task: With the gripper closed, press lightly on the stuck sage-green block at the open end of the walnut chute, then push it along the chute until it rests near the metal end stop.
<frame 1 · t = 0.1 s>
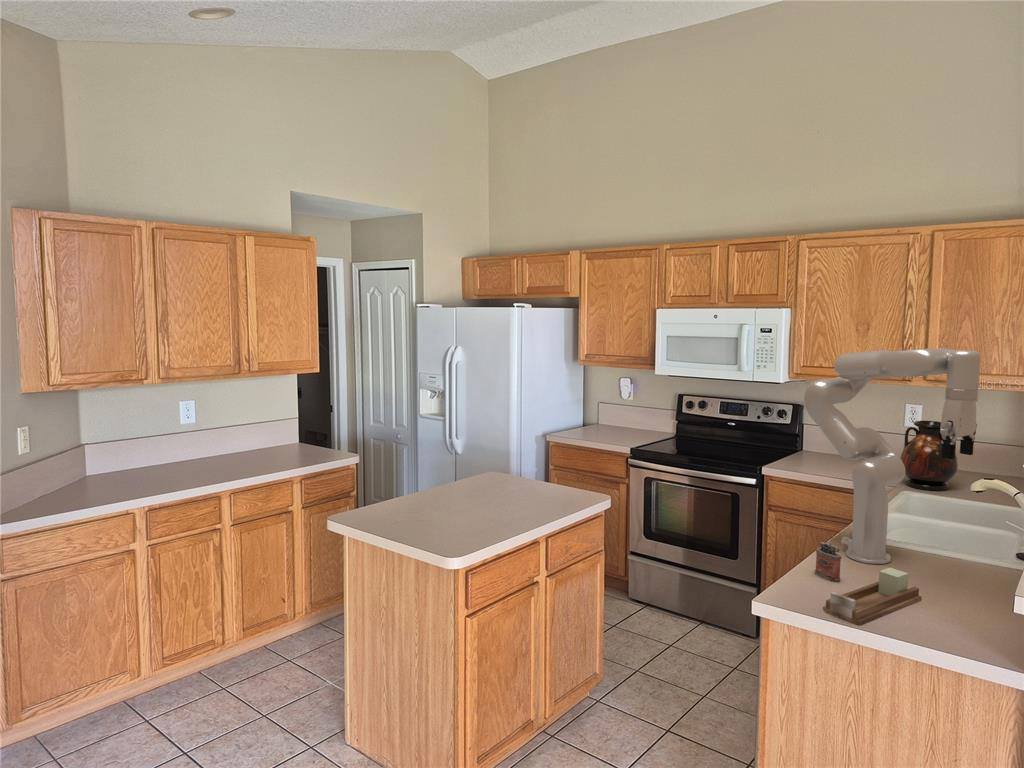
hand: (957, 456, 193), 37 cm above the counter, tool pointing down, fingers open, 9 cm apart
lighter: (827, 577, 202), on the counter
amphora vase: (926, 487, 301), on the counter
chute: (872, 605, 183), on the counter
jammed block: (893, 582, 187), point 4 cm above the counter, slide at 0.0 cm
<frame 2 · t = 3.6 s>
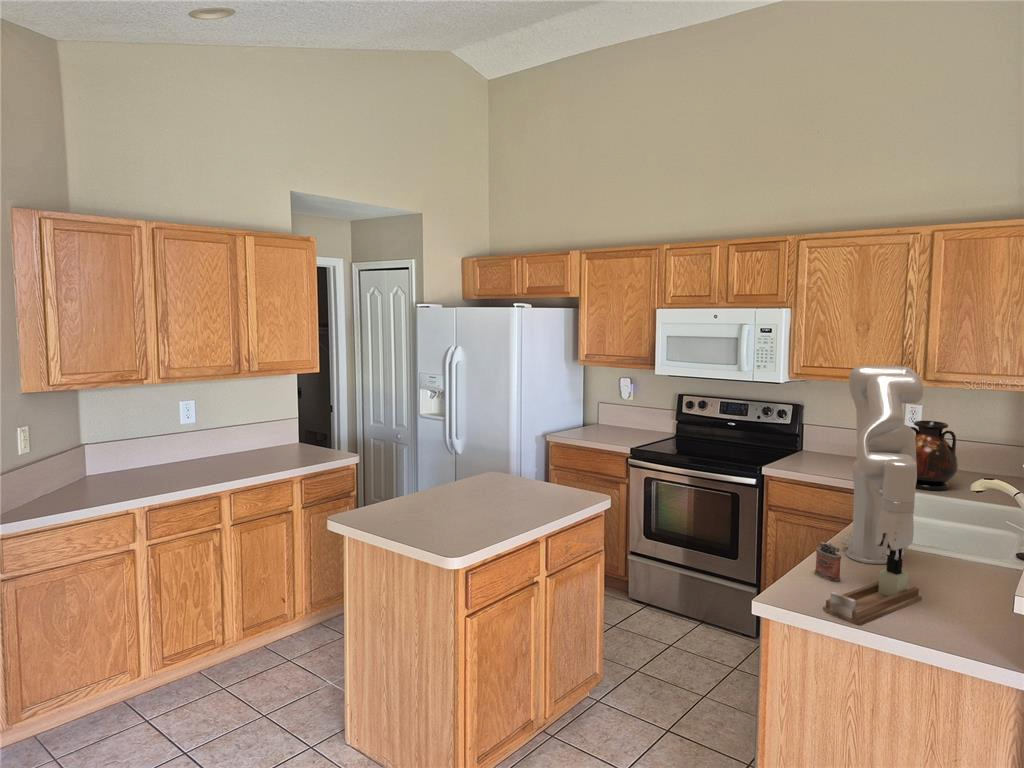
hand: (893, 572, 187), 7 cm above the counter, tool pointing down, fingers closed
jammed block: (893, 582, 187), point 4 cm above the counter, slide at 0.0 cm, touching gripper
everything else where it was.
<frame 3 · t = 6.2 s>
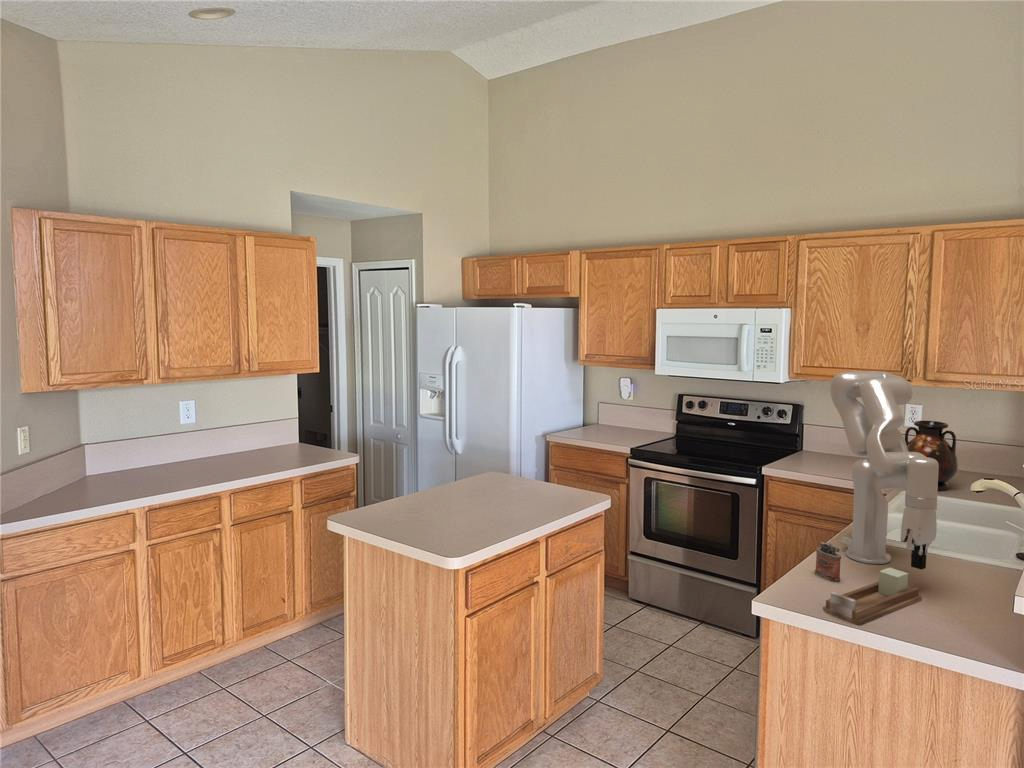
hand: (918, 567, 192), 6 cm above the counter, tool pointing down, fingers closed
jammed block: (893, 583, 187), point 4 cm above the counter, slide at 0.0 cm
everything else where it was.
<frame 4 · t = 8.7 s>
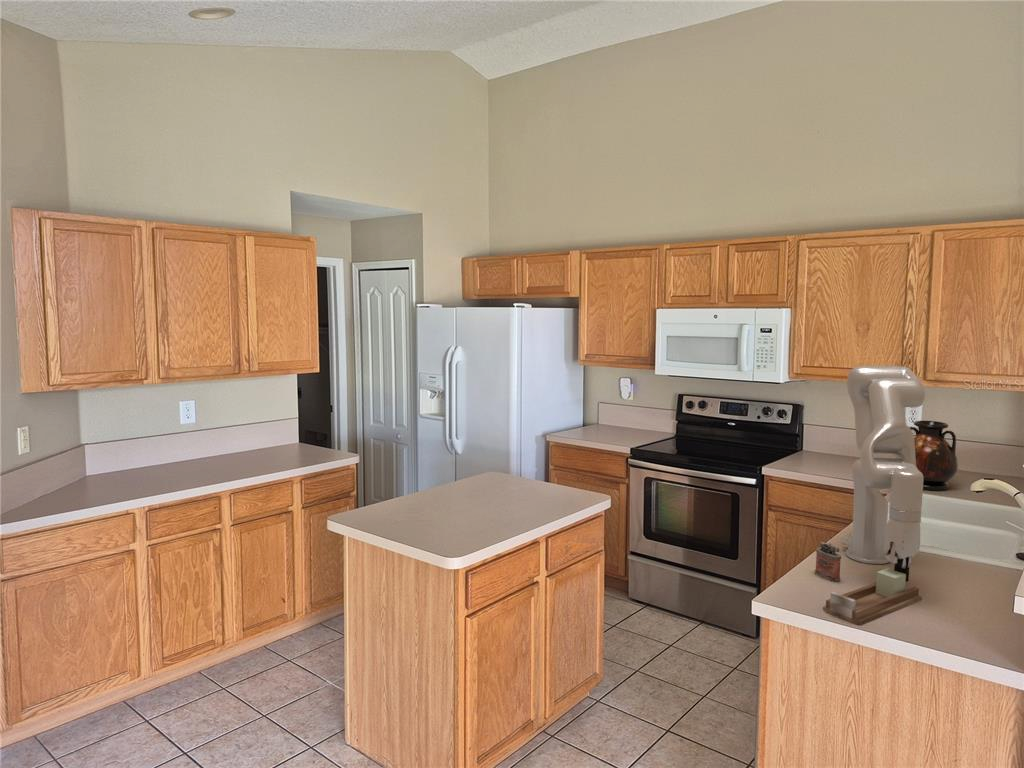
hand: (901, 580, 189), 4 cm above the counter, tool pointing down, fingers closed
jammed block: (890, 583, 186), point 4 cm above the counter, slide at 1.2 cm, touching gripper
everything else where it was.
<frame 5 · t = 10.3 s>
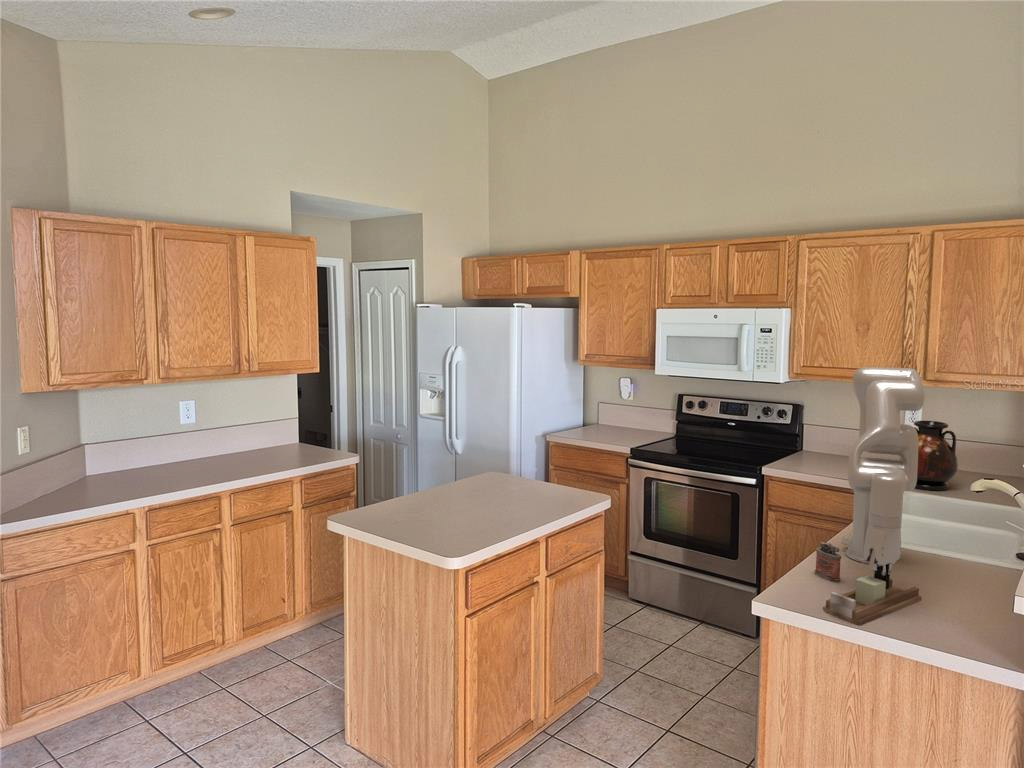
hand: (881, 587, 184), 4 cm above the counter, tool pointing down, fingers closed
jammed block: (870, 591, 182), point 4 cm above the counter, slide at 10.5 cm, touching gripper
everything else where it was.
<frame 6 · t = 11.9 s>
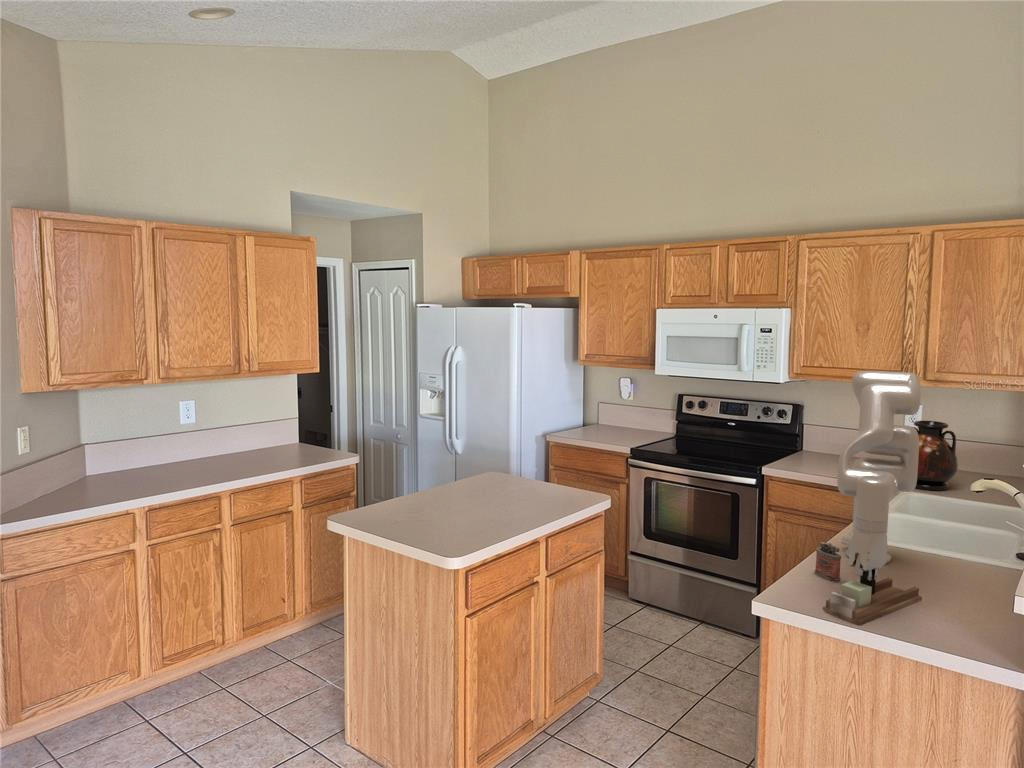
hand: (867, 592, 181), 4 cm above the counter, tool pointing down, fingers closed
jammed block: (855, 596, 178), point 4 cm above the counter, slide at 16.8 cm, touching gripper
everything else where it was.
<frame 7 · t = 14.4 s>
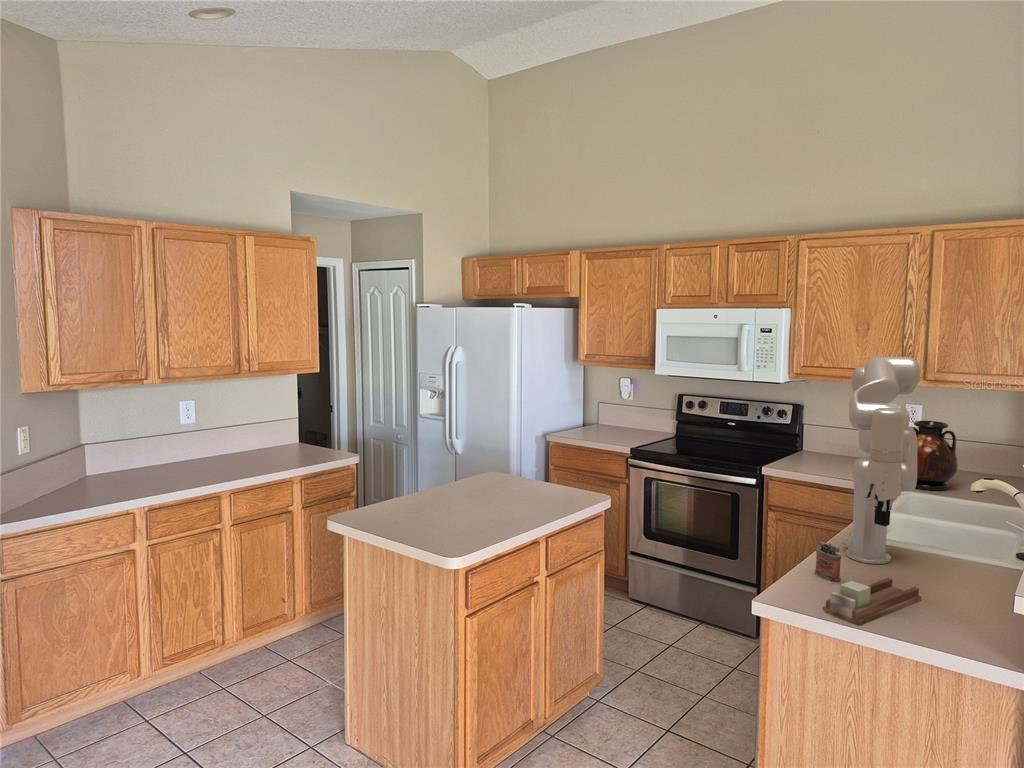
hand: (881, 524, 182), 22 cm above the counter, tool pointing down, fingers closed
jammed block: (854, 597, 178), point 4 cm above the counter, slide at 17.3 cm
everything else where it was.
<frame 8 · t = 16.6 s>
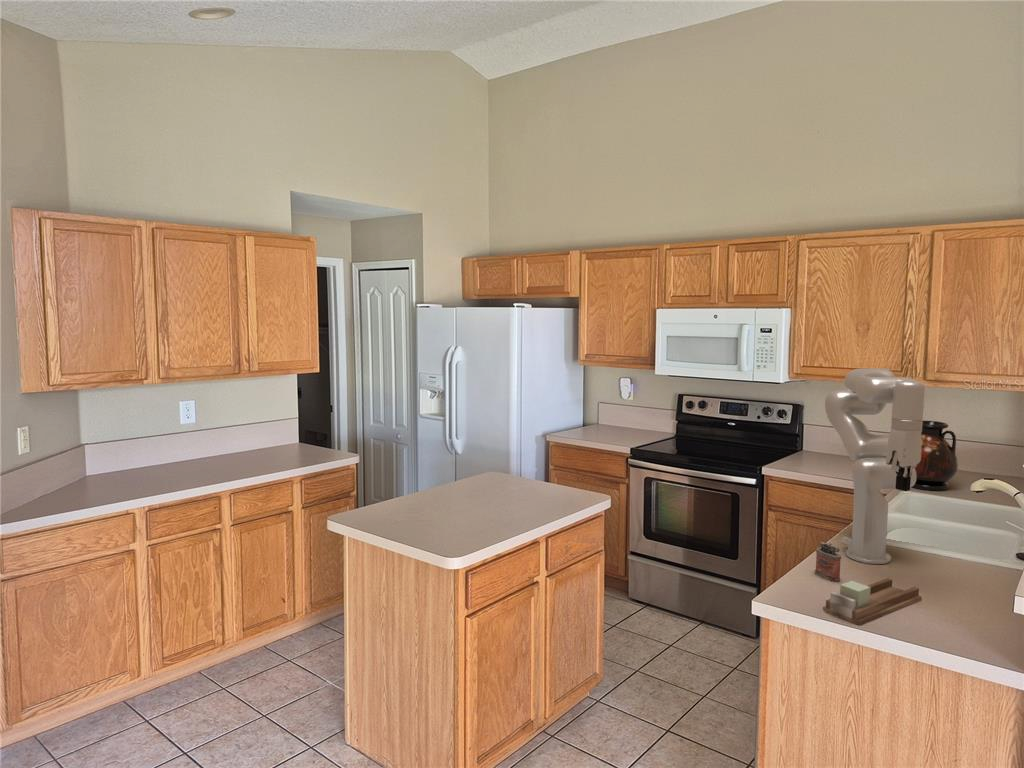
hand: (902, 489, 194), 27 cm above the counter, tool pointing down, fingers closed
nothing on the counter moved.
at the end: jammed block slide at 17.3 cm; lighter moved 0.2 cm from its start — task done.
